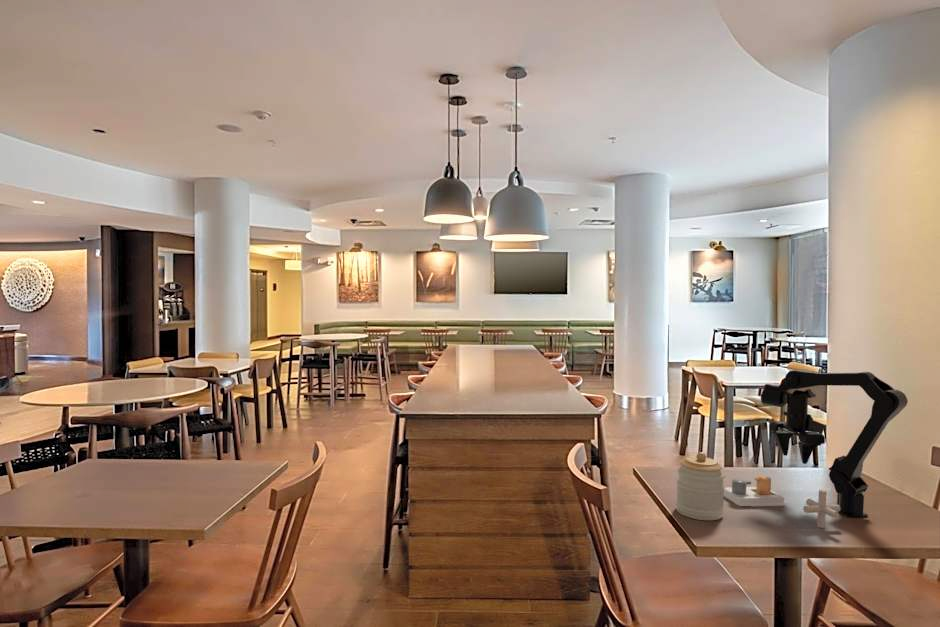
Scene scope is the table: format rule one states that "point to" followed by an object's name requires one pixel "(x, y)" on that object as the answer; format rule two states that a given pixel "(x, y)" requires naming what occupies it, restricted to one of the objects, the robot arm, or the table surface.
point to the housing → (750, 495)
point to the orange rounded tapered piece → (763, 485)
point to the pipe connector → (821, 508)
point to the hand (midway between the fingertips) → (794, 459)
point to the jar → (700, 488)
